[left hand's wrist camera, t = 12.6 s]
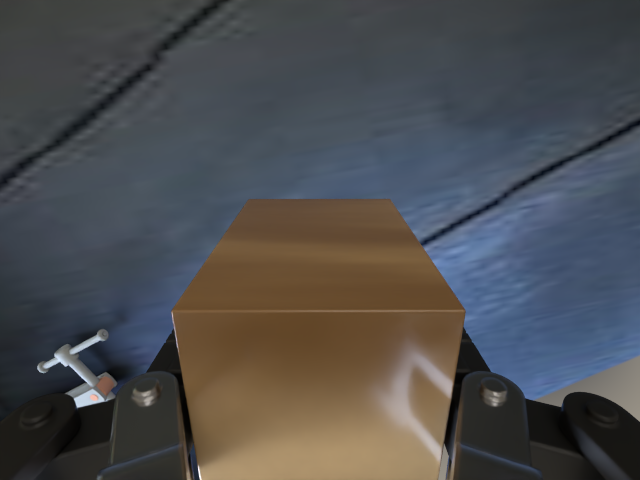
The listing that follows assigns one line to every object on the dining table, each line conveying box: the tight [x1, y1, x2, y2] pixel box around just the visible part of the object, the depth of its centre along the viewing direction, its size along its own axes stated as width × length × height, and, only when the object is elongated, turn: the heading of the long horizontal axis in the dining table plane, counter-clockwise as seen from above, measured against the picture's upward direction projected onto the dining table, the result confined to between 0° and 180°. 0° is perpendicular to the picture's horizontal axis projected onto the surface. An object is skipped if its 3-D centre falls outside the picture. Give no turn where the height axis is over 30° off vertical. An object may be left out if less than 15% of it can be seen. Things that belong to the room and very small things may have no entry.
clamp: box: [38, 329, 117, 408], centre depth 33 cm, size 15×2×10 cm
